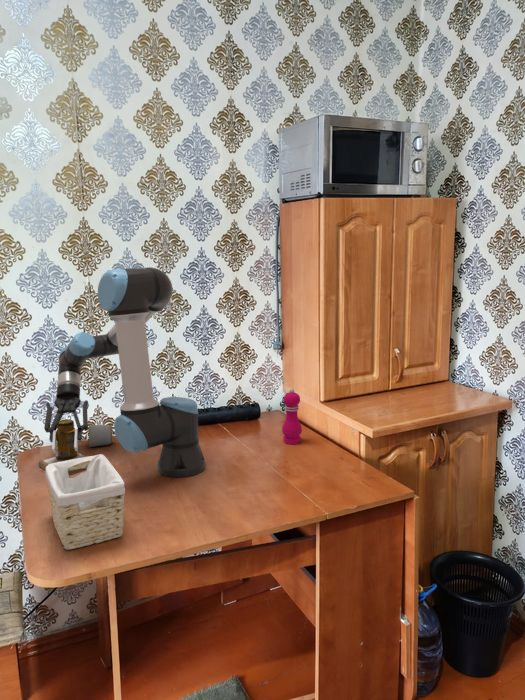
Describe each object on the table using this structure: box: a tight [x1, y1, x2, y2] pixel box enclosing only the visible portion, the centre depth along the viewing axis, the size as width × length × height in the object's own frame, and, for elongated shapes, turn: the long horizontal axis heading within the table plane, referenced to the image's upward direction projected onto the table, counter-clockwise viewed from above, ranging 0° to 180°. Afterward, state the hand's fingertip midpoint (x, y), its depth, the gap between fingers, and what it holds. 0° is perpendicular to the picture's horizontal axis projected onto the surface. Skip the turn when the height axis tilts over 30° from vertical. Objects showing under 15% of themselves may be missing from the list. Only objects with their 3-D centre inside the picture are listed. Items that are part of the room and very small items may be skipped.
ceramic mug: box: [88, 424, 114, 448], centre depth 206 cm, size 11×8×8 cm
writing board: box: [38, 451, 89, 476], centre depth 186 cm, size 14×13×2 cm
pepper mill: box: [281, 387, 303, 445], centre depth 204 cm, size 7×7×20 cm
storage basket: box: [44, 453, 126, 551], centre depth 145 cm, size 24×16×15 cm
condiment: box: [54, 419, 81, 462], centre depth 184 cm, size 7×8×12 cm
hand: (65, 449), depth 181 cm, fingers closed on condiment, 6 cm apart
